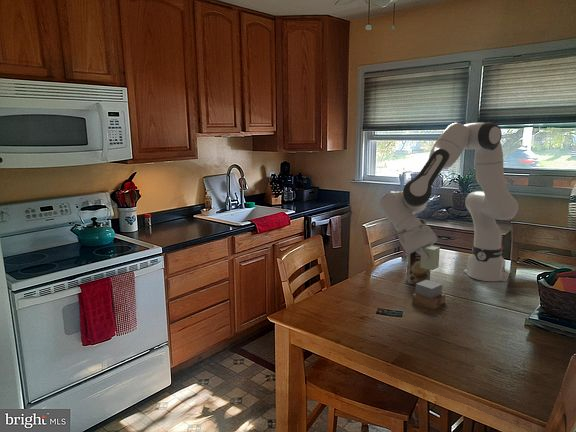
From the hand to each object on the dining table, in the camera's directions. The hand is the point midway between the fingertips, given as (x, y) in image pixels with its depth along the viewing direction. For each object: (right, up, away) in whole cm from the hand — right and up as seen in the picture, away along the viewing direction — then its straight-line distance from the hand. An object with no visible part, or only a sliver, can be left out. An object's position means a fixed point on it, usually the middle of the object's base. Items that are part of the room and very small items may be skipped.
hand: (431, 256), depth 156 cm
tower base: (0, -19, +4) cm, 19 cm away
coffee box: (+3, -14, +27) cm, 31 cm away
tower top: (0, -15, +4) cm, 15 cm away
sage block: (0, -4, +1) cm, 4 cm away
